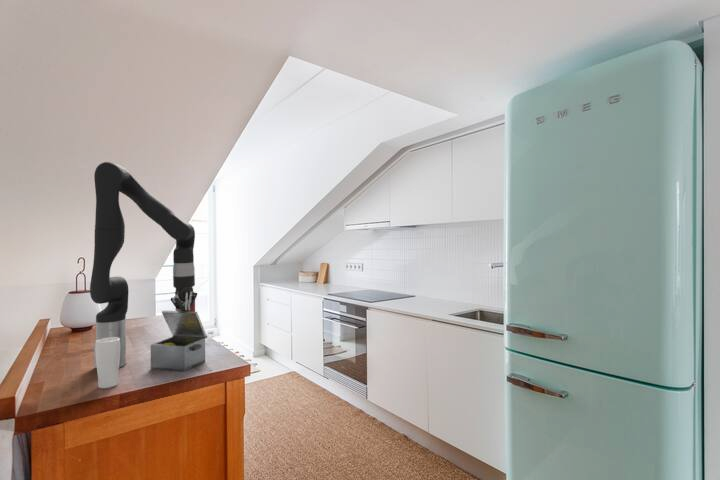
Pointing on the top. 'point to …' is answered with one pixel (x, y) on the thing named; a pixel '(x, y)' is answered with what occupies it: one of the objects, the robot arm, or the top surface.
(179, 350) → the storage box
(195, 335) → the lid
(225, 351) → the top surface
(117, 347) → the drinking glass
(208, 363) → the top surface
